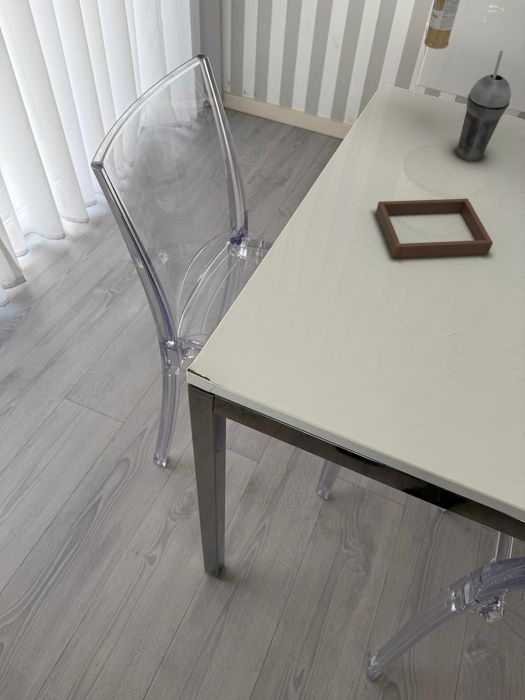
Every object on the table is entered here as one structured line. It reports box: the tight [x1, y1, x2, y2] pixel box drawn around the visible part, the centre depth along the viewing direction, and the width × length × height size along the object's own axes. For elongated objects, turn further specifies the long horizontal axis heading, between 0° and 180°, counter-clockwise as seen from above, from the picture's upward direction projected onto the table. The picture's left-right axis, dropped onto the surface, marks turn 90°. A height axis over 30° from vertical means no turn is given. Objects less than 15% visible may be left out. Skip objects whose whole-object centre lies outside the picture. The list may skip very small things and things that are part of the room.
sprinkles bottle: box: [423, 0, 461, 50], centre depth 101 cm, size 5×5×13 cm
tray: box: [375, 198, 494, 260], centre depth 93 cm, size 16×12×3 cm
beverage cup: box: [456, 50, 512, 162], centre depth 102 cm, size 7×7×20 cm
